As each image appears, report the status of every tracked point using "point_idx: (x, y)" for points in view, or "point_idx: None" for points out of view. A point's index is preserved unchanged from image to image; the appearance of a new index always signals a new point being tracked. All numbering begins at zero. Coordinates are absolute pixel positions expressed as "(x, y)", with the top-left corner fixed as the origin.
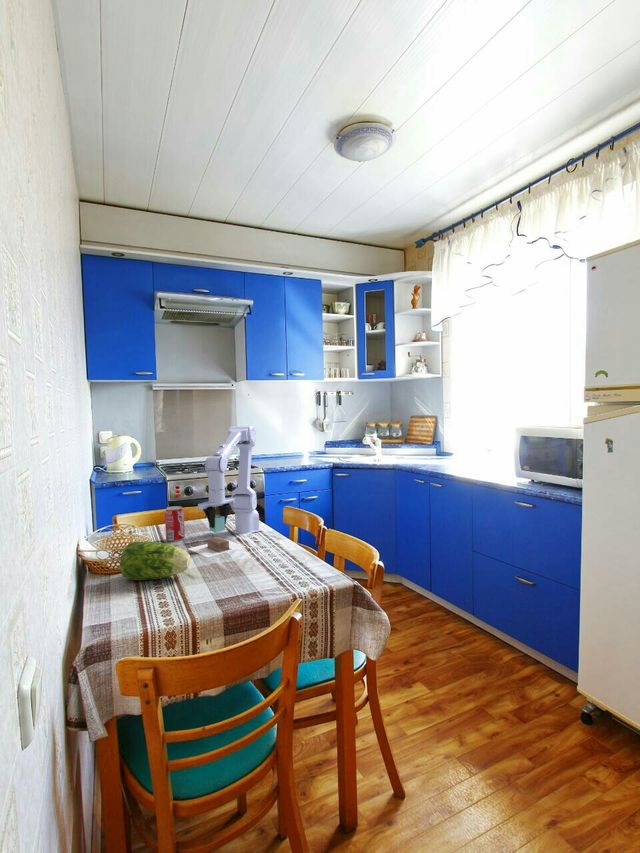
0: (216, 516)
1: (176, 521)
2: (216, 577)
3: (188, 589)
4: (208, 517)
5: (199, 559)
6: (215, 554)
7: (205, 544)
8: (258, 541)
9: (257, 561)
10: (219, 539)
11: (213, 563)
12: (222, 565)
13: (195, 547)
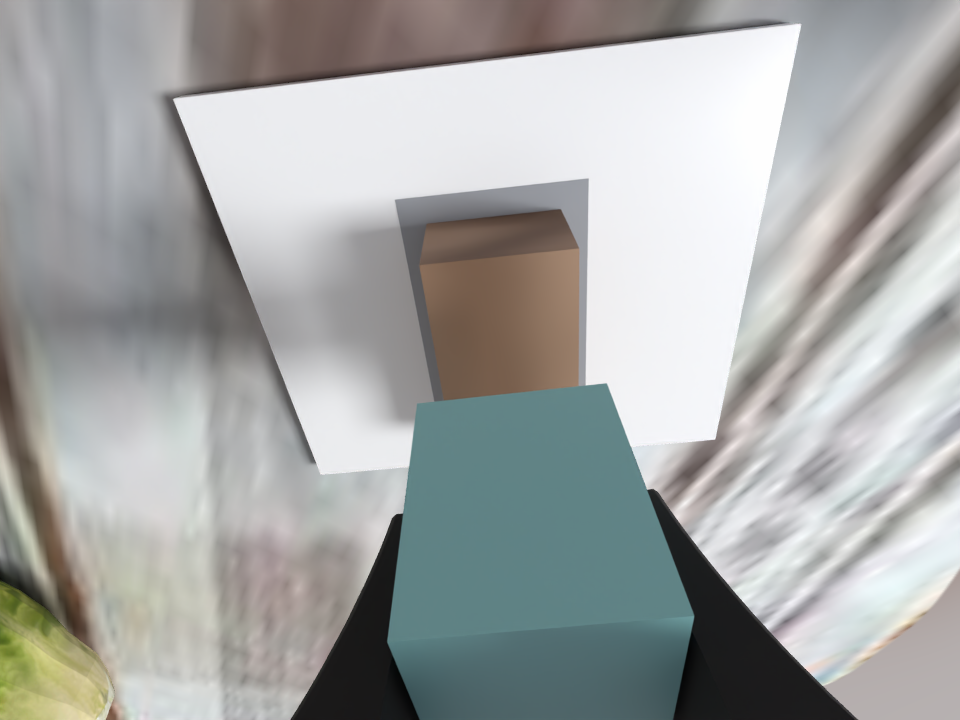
0: (558, 683)
1: None
2: (285, 669)
3: (134, 696)
4: (335, 712)
5: (261, 433)
6: (402, 455)
7: (451, 83)
8: (952, 336)
9: None
10: (536, 372)
11: (334, 541)
12: None
13: (289, 120)
